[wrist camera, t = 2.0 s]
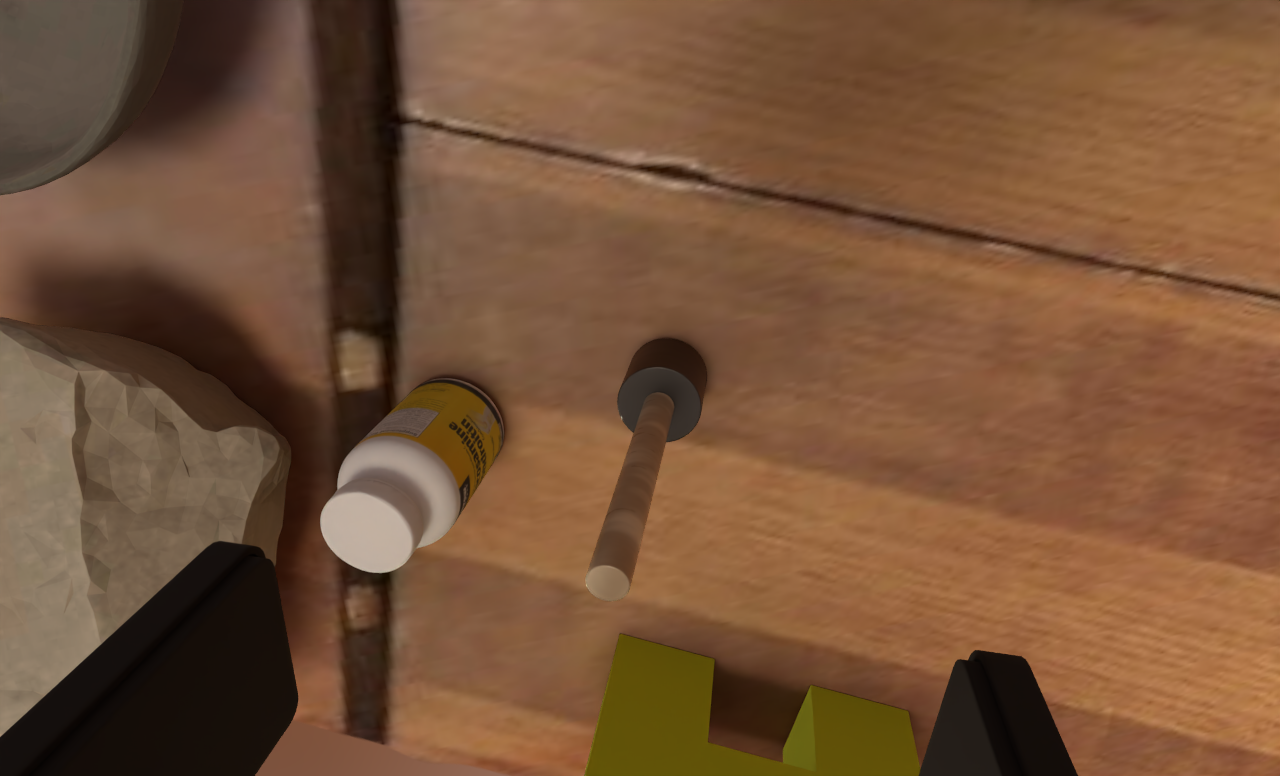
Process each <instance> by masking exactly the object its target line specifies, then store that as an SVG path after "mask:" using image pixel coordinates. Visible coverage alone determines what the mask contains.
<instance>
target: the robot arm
mask: <svg viewBox="0 0 1280 776" xmlns="http://www.w3.org/2000/svg"><path fill="white" fill-rule="evenodd" d="M297 705H298V691H297V686H296V680H295V675H294V670H293V664H292V659H291V653H290V648H289V643H288V637H287V632H286V626H285V621H284V615H283V610H282V605H281V599H280V594H279V588H278V583H277V577H276V572H275V567H274V564H273V562H272V561H271V560H270V559H267V558H266V557H265V554H264V551H263V550H262V549H261V548H260V547H257V546H252V545H245V544H238V543H232V542H225V541H217V542H213V543H212V544H210V545H209V546H208V547H206V548H205V549H204V550H203V551H202V552H201V553H200V554H199V555H198V556H197V557H195V558H194V559H193V560H192V561H191V562H190V563H189V564H188V565H187V566H186V567H185V568H183V569H182V570H181V571H180V572H179V573H178V574H177V575H176V576H175V577H174V578H173V579H172V580H170V581H169V582H168V583H167V584H166V585H165V586H164V587H163V588H162V589H161V590H160V591H158V592H157V593H156V594H155V595H154V596H153V597H152V598H151V599H150V600H149V601H148V602H146V603H145V604H144V605H143V606H142V607H141V608H140V609H139V610H138V611H137V612H136V613H134V614H133V615H132V616H131V617H130V618H129V619H128V620H127V621H126V622H125V623H124V624H123V625H121V626H120V627H119V628H118V629H117V630H116V631H115V632H114V633H113V634H112V635H111V636H109V637H108V638H107V639H106V640H105V641H104V642H103V643H102V644H101V645H100V646H99V647H97V648H96V649H95V650H94V651H93V652H92V653H91V654H90V655H89V656H88V657H87V658H86V659H84V660H83V661H82V662H81V663H80V664H79V665H78V666H77V667H76V668H75V669H74V670H72V671H71V672H70V673H69V674H68V675H67V676H66V677H65V678H64V679H63V680H62V681H60V682H59V683H58V684H57V685H56V686H55V687H54V688H53V689H52V690H51V691H50V692H49V693H47V694H46V695H45V696H44V697H43V698H42V699H41V700H40V701H39V702H38V703H37V704H35V705H34V706H33V707H32V708H31V709H30V710H29V711H28V712H27V713H26V714H25V715H23V716H22V717H21V718H20V719H19V720H18V721H17V722H16V723H15V724H14V725H13V726H12V727H10V728H9V729H8V730H7V731H6V732H5V733H4V734H3V735H2V736H1V737H0V776H255V774H256V773H257V772H258V770H259V769H260V767H261V765H262V764H263V763H264V761H265V760H266V758H267V757H268V755H269V754H270V753H271V751H272V750H273V748H274V747H275V745H276V744H277V742H278V741H279V739H280V738H281V736H282V735H283V734H284V732H285V731H286V729H287V728H288V726H289V725H290V723H291V721H292V720H293V717H294V715H295V713H296V709H297ZM919 776H1078V775H1077V773H1076V770H1075V768H1074V766H1073V764H1072V761H1071V759H1070V757H1069V754H1068V752H1067V750H1066V748H1065V745H1064V743H1063V741H1062V738H1061V736H1060V734H1059V732H1058V729H1057V727H1056V725H1055V723H1054V720H1053V718H1052V716H1051V713H1050V711H1049V709H1048V707H1047V704H1046V702H1045V700H1044V697H1043V695H1042V693H1041V691H1040V688H1039V686H1038V684H1037V682H1036V679H1035V677H1034V675H1033V672H1032V670H1031V668H1030V666H1029V664H1028V662H1027V661H1026V659H1024V658H1023V657H1022V656H1015V655H1008V654H1001V653H994V652H987V651H980V650H975V651H974V652H973V653H972V654H971V655H970V657H969V660H961V659H960V660H957V661H956V662H955V665H954V667H953V670H952V673H951V676H950V679H949V682H948V686H947V689H946V692H945V695H944V698H943V701H942V704H941V707H940V710H939V714H938V717H937V720H936V723H935V726H934V729H933V732H932V735H931V738H930V742H929V745H928V748H927V751H926V754H925V757H924V760H923V763H922V766H921V770H920V773H919Z"/></svg>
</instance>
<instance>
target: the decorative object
mask: <svg viewBox="0 0 1280 776" xmlns="http://www.w3.org/2000/svg"><path fill="white" fill-rule="evenodd" d="M714 662H715V659H712V658H709V657H705V656H701V655H698V654H694V653H690V652H686V651H683V650H679V649H675V648H671V647H668V646H664V645H660V644H657V643H653V642H649V641H645V640H642V639H638V638H634V637H631V636H627V635H623V634H620V635H619V639H618V643H617V647H616V650H615V654H614V658H613V662H612V666H611V670H610V674H609V678H608V682H607V686H606V690H605V694H604V697H603V701H602V706H601V710H600V714H599V718H598V722H597V726H596V730H595V734H594V738H593V742H592V746H591V750H590V754H589V758H588V763H587V767H586V771H585V775H584V776H919V773H920V766H919V761H918V756H917V751H916V746H915V741H914V737H913V732H912V727H911V722H910V717H909V713H908V711H906V710H902V709H899V708H895V707H891V706H888V705H884V704H880V703H876V702H873V701H869V700H865V699H862V698H858V697H854V696H850V695H847V694H843V693H839V692H835V691H832V690H828V689H824V688H821V687H817V686H813V685H811V686H810V688H809V690H808V693H807V695H806V697H805V700H804V702H803V704H802V707H801V709H800V711H799V713H798V716H797V718H796V720H795V723H794V725H793V727H792V730H791V732H790V734H789V737H788V739H787V741H786V744H785V746H784V748H783V763H781V762H778V761H774V760H771V759H767V758H763V757H760V756H756V755H752V754H749V753H745V752H741V751H738V750H734V749H730V748H727V747H723V746H719V745H716V744H712V743H708V734H709V722H710V710H711V698H712V686H713V674H714Z"/></svg>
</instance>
